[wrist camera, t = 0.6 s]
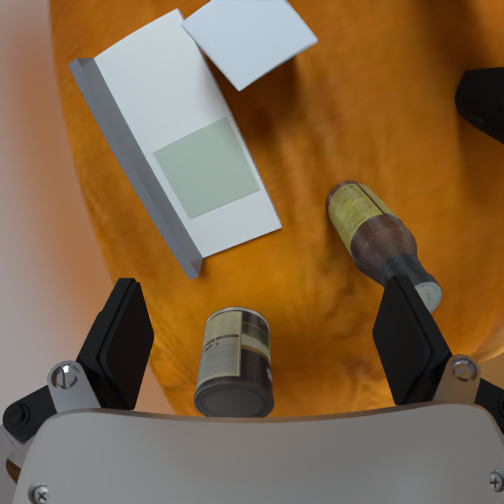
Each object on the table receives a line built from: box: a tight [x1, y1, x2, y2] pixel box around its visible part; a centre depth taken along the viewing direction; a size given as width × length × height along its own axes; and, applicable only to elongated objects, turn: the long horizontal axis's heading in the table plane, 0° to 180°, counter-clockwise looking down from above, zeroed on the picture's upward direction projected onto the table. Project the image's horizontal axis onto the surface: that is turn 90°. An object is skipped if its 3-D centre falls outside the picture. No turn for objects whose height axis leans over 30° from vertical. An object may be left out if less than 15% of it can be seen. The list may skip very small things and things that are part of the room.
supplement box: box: [181, 0, 318, 91], centre depth 24 cm, size 7×7×13 cm
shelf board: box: [94, 9, 282, 258], centre depth 34 cm, size 12×28×2 cm, turn 24°
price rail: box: [68, 58, 203, 279], centre depth 33 cm, size 1×28×4 cm, turn 24°
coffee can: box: [194, 307, 274, 418], centre depth 44 cm, size 10×10×14 cm
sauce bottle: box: [327, 181, 442, 314], centre depth 30 cm, size 7×6×20 cm
